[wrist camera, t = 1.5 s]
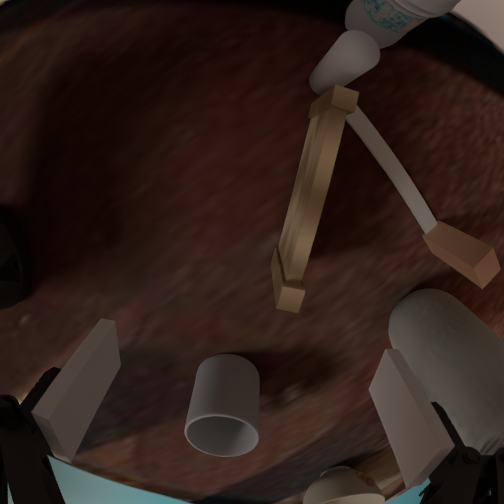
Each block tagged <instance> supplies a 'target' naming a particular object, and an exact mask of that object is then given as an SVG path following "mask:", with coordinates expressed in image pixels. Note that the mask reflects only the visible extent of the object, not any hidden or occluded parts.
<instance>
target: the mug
mask: <svg viewBox="0 0 504 504" xmlns="http://www.w3.org/2000/svg"><path fill="white" fill-rule="evenodd" d="M259 389H260V379H259V373H258V371H257V369H256V367H255V366H254V365H253V364H252V363H251V362H250V361H249V360H247V359H245V358H244V357H241V356H238V355H234V354H218V355H214V356H211V357H209V358H207V359H206V360H205V361H203V362H202V364H201V365H200V366H199V368H198V371H197V375H196V380H195V385H194V389H193V394H192V398H191V402H190V407H189V411H188V416H187V420H186V425H185V436H186V438H187V440H188V441H189V442H190V444H191V445H193V446H194V447H195V448H197V449H198V450H200V451H202V452H205V453H207V454H211V455H215V456H223V457H231V456H238V455H242V454H245V453H247V452H249V451H251V450H252V449H254V448H255V447H256V446H257V444H258V442H259V438H260V400H259Z"/></svg>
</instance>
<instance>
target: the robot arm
mask: <svg viewBox="0 0 504 504" xmlns="http://www.w3.org/2000/svg"><path fill="white" fill-rule="evenodd" d="M31 277H32V269H31V261H30V256H29V252H28V248H27V245H26V242H25V240H24V238H23V235H22V233H21V232H20V230H19V228H18V227H17V225H16V224H15V222H14V221H13V220H12V219H11V218H10V217H9V216H8V215H7V214H6V213H5V212H3V211H2V210H0V310H2V309H6V308H10V307H12V306H14V305H16V304H17V303H18V302H19V301H21V300H22V299H23V298H24V297H25V296H26V294H27V293H28V291H29V288H30V284H31ZM120 366H121V363H120V356H119V349H118V341H117V333H116V324H115V321H111V320H107V319H102V318H101V319H100V321H99V322H98V323H97V324H96V326H95V327H94V328H93V329H92V331H91V332H90V333H89V334H88V336H87V337H86V338H85V340H84V341H83V342H82V343H81V345H80V346H79V347H78V349H77V350H76V351H75V353H74V354H73V355H72V356H71V358H70V359H69V360H68V362H67V363H66V364H65V366H64V367H63V368H62V369H59V368H56V367H53V368H51V369H49V370H48V371H46V372H45V373H44V374H43V375H42V376H41V378H40V379H39V382H37V383H36V384H35V386H34V388H32V390H31V391H30V392H29V394H28V395H27V396H26V398H25V399H24V400H23V402H22V403H21V404H19V402H18V400H17V399H16V398H15V397H14V396H11V395H0V504H8V488H7V487H8V486H7V485H8V484H9V488H10V492H11V496H12V499H13V503H14V504H65V501H64V499H63V497H62V494H61V492H60V489H59V486H58V484H57V481H56V478H55V476H54V473H53V470H52V467H51V464H50V461H49V458H48V457H47V454H48V452H49V450H50V449H51V451H52V453H53V454H54V456H55V457H57V458H59V459H62V460H64V461H67V462H69V463H71V462H72V459H73V457H74V455H75V453H76V451H77V449H78V447H79V445H80V443H81V441H82V439H83V437H84V435H85V433H86V431H87V429H88V427H89V425H90V423H91V421H92V419H93V417H94V415H95V413H96V411H97V409H98V407H99V405H100V403H101V402H102V400H103V398H104V396H105V394H106V392H107V390H108V388H109V386H110V385H111V383H112V381H113V379H114V377H115V375H116V373H117V372H118V370H119V368H120ZM369 392H370V394H371V396H372V399H373V401H374V404H375V406H376V409H377V411H378V414H379V416H380V419H381V421H382V424H383V426H384V429H385V431H386V434H387V437H388V439H389V442H390V444H391V447H392V450H393V452H394V455H395V458H396V460H397V463H398V466H399V469H400V471H401V474H402V477H403V480H404V482H405V485H406V488H409V487H413V486H418V485H421V484H422V483H423V482H424V481H425V480H426V479H427V478H428V477H429V480H430V482H431V483H430V484H429V485H428V486H427V487H426V488H425V489H424V490H423V491H422V492H421V493H420V494H419V496H421V495H422V494H423V493H424V495H423V498H422V500H421V502H420V504H504V447H501V448H499V449H498V450H497V451H496V452H495V453H494V454H493V455H481V454H480V453H479V451H478V450H476V449H475V448H473V447H469V446H467V447H466V446H465V445H464V443H463V441H462V439H461V437H460V436H459V434H458V432H457V430H456V429H455V427H454V425H453V424H452V422H451V420H450V418H448V415H447V413H446V411H445V410H444V408H443V407H442V406H440V405H439V404H438V403H437V402H430V400H429V399H428V397H427V395H426V394H425V392H424V390H423V388H422V387H421V385H420V383H419V382H418V380H417V378H416V377H415V375H414V373H413V372H412V370H411V369H410V367H409V365H408V364H407V362H406V360H405V359H404V357H403V356H402V354H401V352H400V351H399V349H385V351H384V354H383V356H382V359H381V361H380V364H379V366H378V369H377V371H376V373H375V376H374V378H373V380H372V383H371V385H370V387H369ZM490 493H491V495H490Z"/></svg>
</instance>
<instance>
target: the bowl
mask: <svg viewBox="0 0 504 504" xmlns="http://www.w3.org/2000/svg"><path fill="white" fill-rule="evenodd" d="M384 501H385V497H384V495H383V494H382V492H381V490H380V489H379V487H378V486H377V484H376V483H375V481H374V480H373V479H372V478H371V477H370V476H369V475H367V474H366V473H364V472H361V471H359V470H354V469H351V468H350V467H348V466H336V467H332V468H329V469H327V470H325V471H324V472H323V473H322V474H321V476H320V477H319V478H318V479H317V480H315V481H314V482H313V483H312V484H311V485H310V487H309V488H308V490H307V492H306V494H305V497H304V501H303V504H383V503H384Z"/></svg>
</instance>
